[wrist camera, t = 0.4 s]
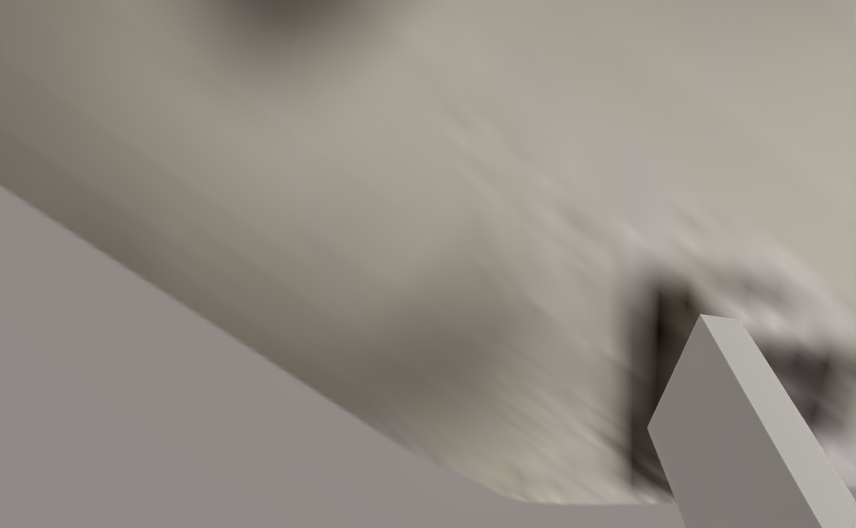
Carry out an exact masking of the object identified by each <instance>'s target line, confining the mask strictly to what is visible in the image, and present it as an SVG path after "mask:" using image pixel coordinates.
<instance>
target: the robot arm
mask: <svg viewBox="0 0 856 528" xmlns="http://www.w3.org/2000/svg"><path fill="white" fill-rule="evenodd" d="M647 428H648V431H649V433H650V436H651V439H652V441H653V444H654V446H655V449H656V451H657V454H658V456H659V459H660V461H661V464H662V467H663V469H664V472H665V474H666V477H667V479H668V482H669V484H670V487H671V490H672V492H673V495H674V497H675V500H676V502H677V505H678V507H679V510H680V512H681V515H682V517H683V520H684V523H685V525H686V528H856V501H855V499H854V498H853V496H852V495H851V493H850V492H849V490H848V488H847V487H846V485H845V484H844V482H843V481H842V479H841V477H840V476H839V474H838V473H837V471H836V470H835V468H834V466H833V465H832V463H831V462H830V460H829V459H828V457H827V455H826V454H825V452H824V451H823V449H822V448H821V446H820V444H819V443H818V441H817V440H816V438H815V437H814V435H813V433H812V432H811V430H810V429H809V427H808V426H807V424H806V422H805V421H804V419H803V418H802V416H801V415H800V413H799V411H798V410H797V408H796V407H795V405H794V404H793V402H792V400H791V399H790V397H789V396H788V394H787V393H786V391H785V389H784V388H783V386H782V385H781V383H780V382H779V380H778V378H777V377H776V375H775V374H774V372H773V371H772V369H771V367H770V366H769V364H768V363H767V361H766V360H765V358H764V356H763V355H762V353H761V352H760V350H759V349H758V347H757V345H756V344H755V342H754V341H753V339H752V338H751V336H750V334H749V333H748V331H747V330H746V328H745V327H744V325H743V323H742V322H741V320H737V319H730V318H723V317H716V316H709V315H702V314H700V316H699V318H698V320H697V322H696V324H695V326H694V329H693V331H692V333H691V335H690V337H689V339H688V341H687V344H686V346H685V348H684V350H683V352H682V354H681V356H680V359H679V361H678V363H677V365H676V367H675V369H674V372H673V374H672V376H671V378H670V380H669V382H668V384H667V387H666V389H665V391H664V393H663V395H662V397H661V399H660V402H659V404H658V406H657V408H656V410H655V412H654V414H653V417H652V419H651V421H650V423H649V425H648V427H647Z"/></svg>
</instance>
